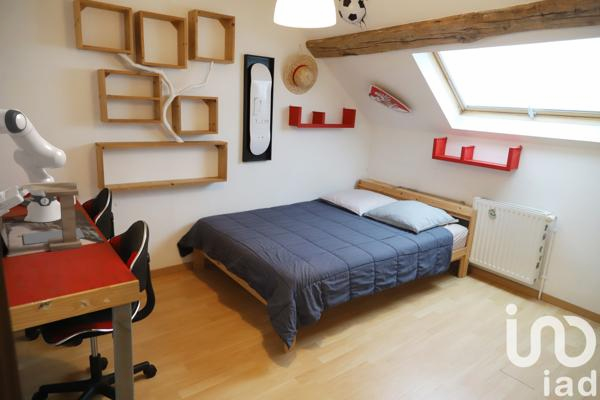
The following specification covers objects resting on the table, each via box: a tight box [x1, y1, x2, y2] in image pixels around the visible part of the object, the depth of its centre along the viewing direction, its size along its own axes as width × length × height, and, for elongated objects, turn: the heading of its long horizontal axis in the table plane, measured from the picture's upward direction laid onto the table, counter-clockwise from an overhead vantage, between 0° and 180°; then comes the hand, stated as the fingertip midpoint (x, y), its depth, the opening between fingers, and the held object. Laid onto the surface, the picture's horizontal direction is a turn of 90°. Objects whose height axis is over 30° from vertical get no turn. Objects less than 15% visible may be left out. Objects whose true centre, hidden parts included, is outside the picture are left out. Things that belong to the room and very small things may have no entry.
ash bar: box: [21, 180, 78, 193], centre depth 177 cm, size 3×20×3 cm, turn 125°
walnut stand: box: [44, 189, 83, 252], centre depth 183 cm, size 12×12×26 cm
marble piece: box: [19, 196, 31, 208], centre depth 248 cm, size 17×15×4 cm
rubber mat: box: [22, 227, 85, 246], centre depth 196 cm, size 16×24×1 cm, turn 125°
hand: (31, 186), depth 173 cm, fingers open, 4 cm apart
